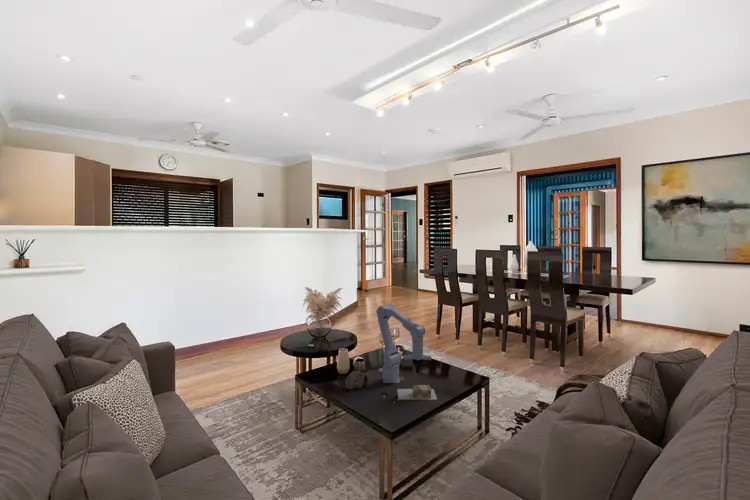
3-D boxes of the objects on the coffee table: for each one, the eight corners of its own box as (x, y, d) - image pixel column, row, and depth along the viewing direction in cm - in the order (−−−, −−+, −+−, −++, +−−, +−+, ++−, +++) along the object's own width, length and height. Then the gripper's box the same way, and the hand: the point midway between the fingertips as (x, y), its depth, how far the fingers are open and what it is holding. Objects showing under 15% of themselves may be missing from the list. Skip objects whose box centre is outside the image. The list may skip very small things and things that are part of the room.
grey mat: (398, 400, 186) (398, 399, 186) (397, 389, 198) (397, 389, 198) (437, 400, 186) (437, 399, 186) (433, 389, 198) (433, 389, 198)
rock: (348, 390, 195) (352, 371, 197) (343, 387, 200) (346, 368, 203) (367, 392, 201) (370, 373, 203) (361, 389, 207) (364, 371, 209)
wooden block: (413, 390, 188) (430, 390, 188) (412, 385, 194) (429, 385, 194) (413, 397, 188) (430, 397, 188) (412, 392, 194) (429, 392, 194)
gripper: (404, 350, 191) (404, 375, 192) (432, 350, 191) (431, 375, 192) (403, 346, 198) (403, 370, 199) (430, 346, 198) (429, 370, 199)
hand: (417, 372), depth 196 cm, fingers closed
